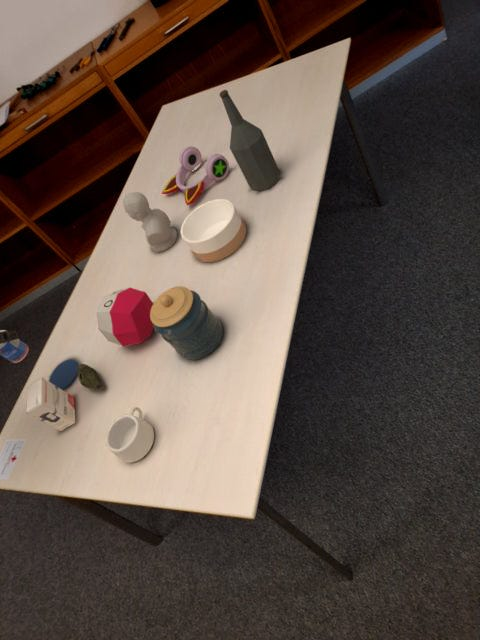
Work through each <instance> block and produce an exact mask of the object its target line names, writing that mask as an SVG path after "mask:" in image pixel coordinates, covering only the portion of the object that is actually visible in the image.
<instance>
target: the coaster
mask: <svg viewBox="0 0 480 640" xmlns="http://www.w3.org/2000/svg"><path fill="white" fill-rule="evenodd" d="M78 365H80V363H79V362H78V361H77V360H75V359H71V358H69V359H66V360H64V361H62V362H60V363H59V364H58V365H57V366H56V367H55V368H54V369H53V371H52V372H51V374H50V377H49V380H48V381H49V382H51V383H52V384H54V385H55V386H57V387H58V388H60V389H61V390H63V391H64V390H67V389H68V388H69V387H70V386H72V384H73V383H74V382H75V380H76V379H77V378H78V373H77V369H78Z"/></svg>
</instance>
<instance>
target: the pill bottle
mask: <svg viewBox="0 0 480 640" xmlns="http://www.w3.org/2000/svg"><path fill="white" fill-rule="evenodd" d="M4 331H7V330H5V329H0V332H4ZM28 353H29V346H28V344H26V343H24V342H23V341H22V340H20V339H19V338H18V339H16V340H12V341H9V342H6V343H2V344H0V356H1V357H3V358H5V359H6V360H7V361H9V362H11V363H13V364H17V363H20V362H21V361H23V360H24V359H25V358H26V356H27V355H28Z"/></svg>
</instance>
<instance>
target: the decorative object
mask: <svg viewBox="0 0 480 640" xmlns="http://www.w3.org/2000/svg"><path fill="white" fill-rule="evenodd" d="M153 304H154V302H153V301H152V299H151V298H150V296H149V295H148V294H147V291H142V290H139V289H136V288H133V287H125V288H123V289H119V290H115V291H113V292H111V293H109V294H107V295H105V296H104V297H102V298H101V299H100V303H99V305H98V308H97V311H96V319H97V329H98V331H99V332H100V333H101V334H102V335H103V337H104V338H105V339H106V340H107V341H108V342H110V343H113V344H115V345H117V346H121V347H129V346H133V345H137V344H141V343H142V342H144V341H145V340H147V339H148V338H149V337H150V336H151V335H152V334H153V330H154V327H153V323H152V321H151V319H150V311H151V308H152V306H153Z"/></svg>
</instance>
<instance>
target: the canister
mask: <svg viewBox="0 0 480 640" xmlns="http://www.w3.org/2000/svg"><path fill="white" fill-rule="evenodd" d="M150 319H151V321H152V323H153V330H154V331H155V332H156V333H157V334H158V335H159V336H161V337H162V339H163V340H164V341H165V342H166V343H168V344H169V345H170V346H171V347H172V348H173V349H174V350H175V352H176V353H177V354H178V355H179V356H181V358H184V359H186V360H188V361H189V360H190V361H198V360H201V359H204V358H206V357H207V356H209V355H211V354H212V353H213V352H214V351H215V350H216V349H217V348H218V346H219V345H220V343H221V341H222V339H223V332H224V331H223V330H224V329H223V326H222V323H221V321H220V320H219V318H218V317H217V316H216V315H215V314H214V313H213V312H212V311H211V310H210V308H209V307H208V305H207V303H206V302H205V301H204V300H203V299H202V297H201V296H200V294H199V293H198V292H196V291H195V290H193V289H190V288H189V287H186V286H181V285H180V286H174V287H171V288H169V289H166V290H165V291H164V292H162V293H161V294H160V295H158V297H157V298H156V299H155V301H154V302H153V306H152V308H151V311H150Z"/></svg>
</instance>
